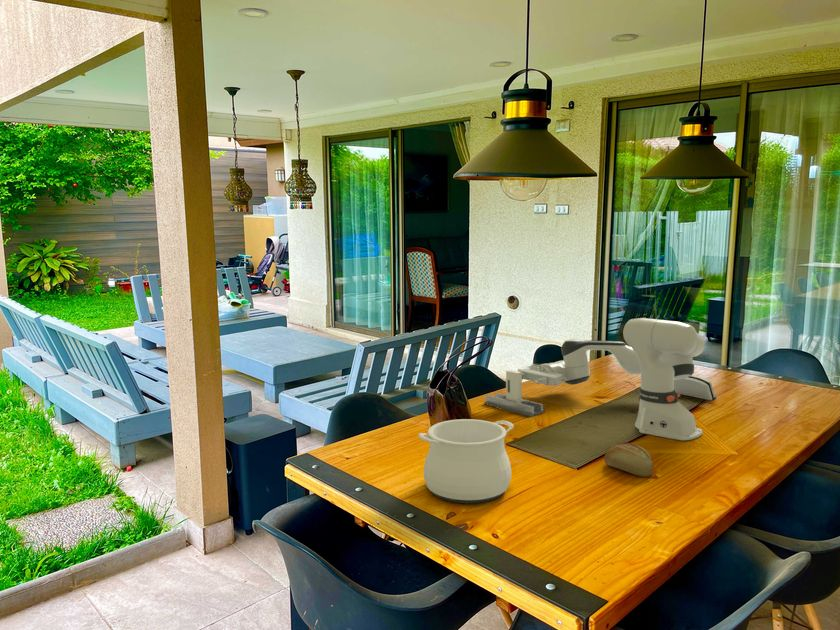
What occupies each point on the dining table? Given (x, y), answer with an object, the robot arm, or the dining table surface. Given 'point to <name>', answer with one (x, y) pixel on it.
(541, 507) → the dining table surface
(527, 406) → the track
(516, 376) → the white rectangular block
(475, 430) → the pot
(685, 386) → the white curved block
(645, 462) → the bread roll
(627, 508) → the dining table surface
